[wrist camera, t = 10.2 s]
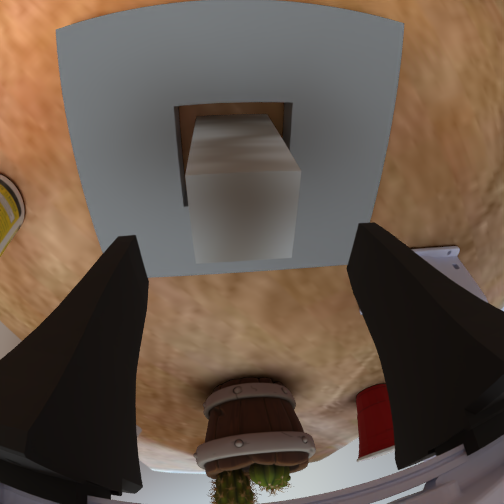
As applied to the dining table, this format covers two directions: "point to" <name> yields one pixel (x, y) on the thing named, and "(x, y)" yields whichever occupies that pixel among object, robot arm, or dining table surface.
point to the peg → (241, 189)
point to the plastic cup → (374, 423)
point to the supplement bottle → (9, 212)
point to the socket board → (228, 91)
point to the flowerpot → (252, 439)
